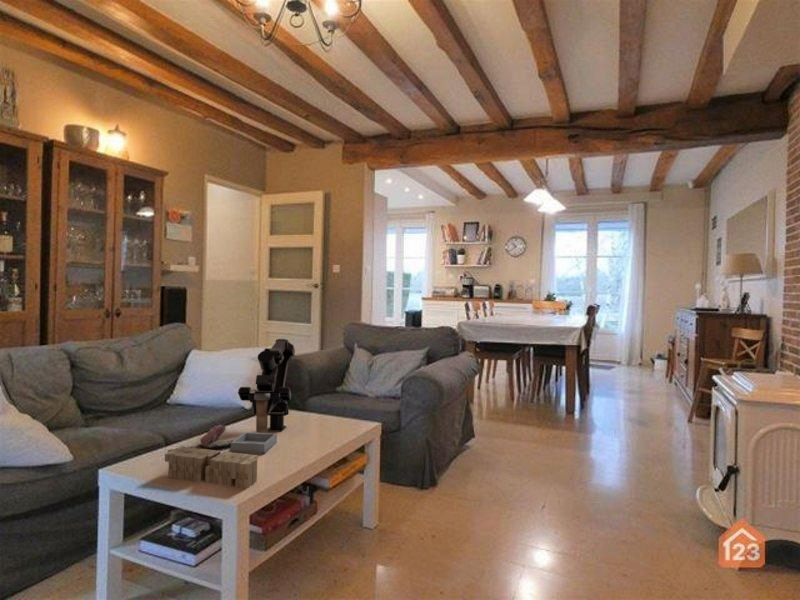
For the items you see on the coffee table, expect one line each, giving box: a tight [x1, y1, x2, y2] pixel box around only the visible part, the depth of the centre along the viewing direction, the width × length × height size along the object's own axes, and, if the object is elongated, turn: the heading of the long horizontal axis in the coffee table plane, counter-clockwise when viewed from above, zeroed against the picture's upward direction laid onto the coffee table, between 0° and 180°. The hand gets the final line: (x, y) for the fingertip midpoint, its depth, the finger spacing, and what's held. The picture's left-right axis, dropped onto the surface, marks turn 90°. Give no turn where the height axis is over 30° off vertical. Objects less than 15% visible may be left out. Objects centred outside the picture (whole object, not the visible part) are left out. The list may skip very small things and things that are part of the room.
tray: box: [230, 431, 278, 455], centre depth 179 cm, size 13×13×4 cm
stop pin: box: [254, 393, 270, 433], centre depth 177 cm, size 6×6×14 cm
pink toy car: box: [199, 424, 227, 444], centre depth 186 cm, size 10×5×7 cm, turn 169°
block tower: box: [164, 445, 258, 489], centre depth 150 cm, size 8×8×29 cm
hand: (261, 414), depth 175 cm, fingers closed on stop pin, 4 cm apart
